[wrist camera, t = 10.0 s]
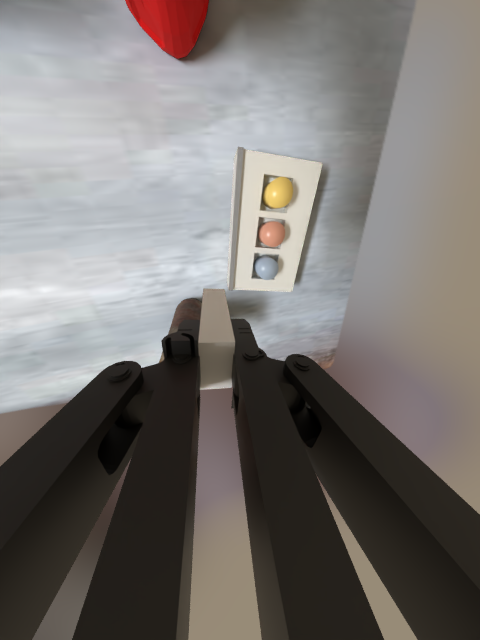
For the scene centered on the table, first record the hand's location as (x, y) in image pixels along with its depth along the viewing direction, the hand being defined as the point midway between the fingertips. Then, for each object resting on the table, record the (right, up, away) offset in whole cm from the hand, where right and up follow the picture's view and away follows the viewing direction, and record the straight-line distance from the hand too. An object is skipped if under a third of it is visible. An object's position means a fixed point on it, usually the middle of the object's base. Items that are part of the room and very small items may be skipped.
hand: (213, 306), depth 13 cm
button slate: (+7, +10, +24) cm, 27 cm away
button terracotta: (+7, +16, +21) cm, 27 cm away
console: (+7, +17, +24) cm, 30 cm away
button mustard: (+8, +21, +18) cm, 29 cm away
